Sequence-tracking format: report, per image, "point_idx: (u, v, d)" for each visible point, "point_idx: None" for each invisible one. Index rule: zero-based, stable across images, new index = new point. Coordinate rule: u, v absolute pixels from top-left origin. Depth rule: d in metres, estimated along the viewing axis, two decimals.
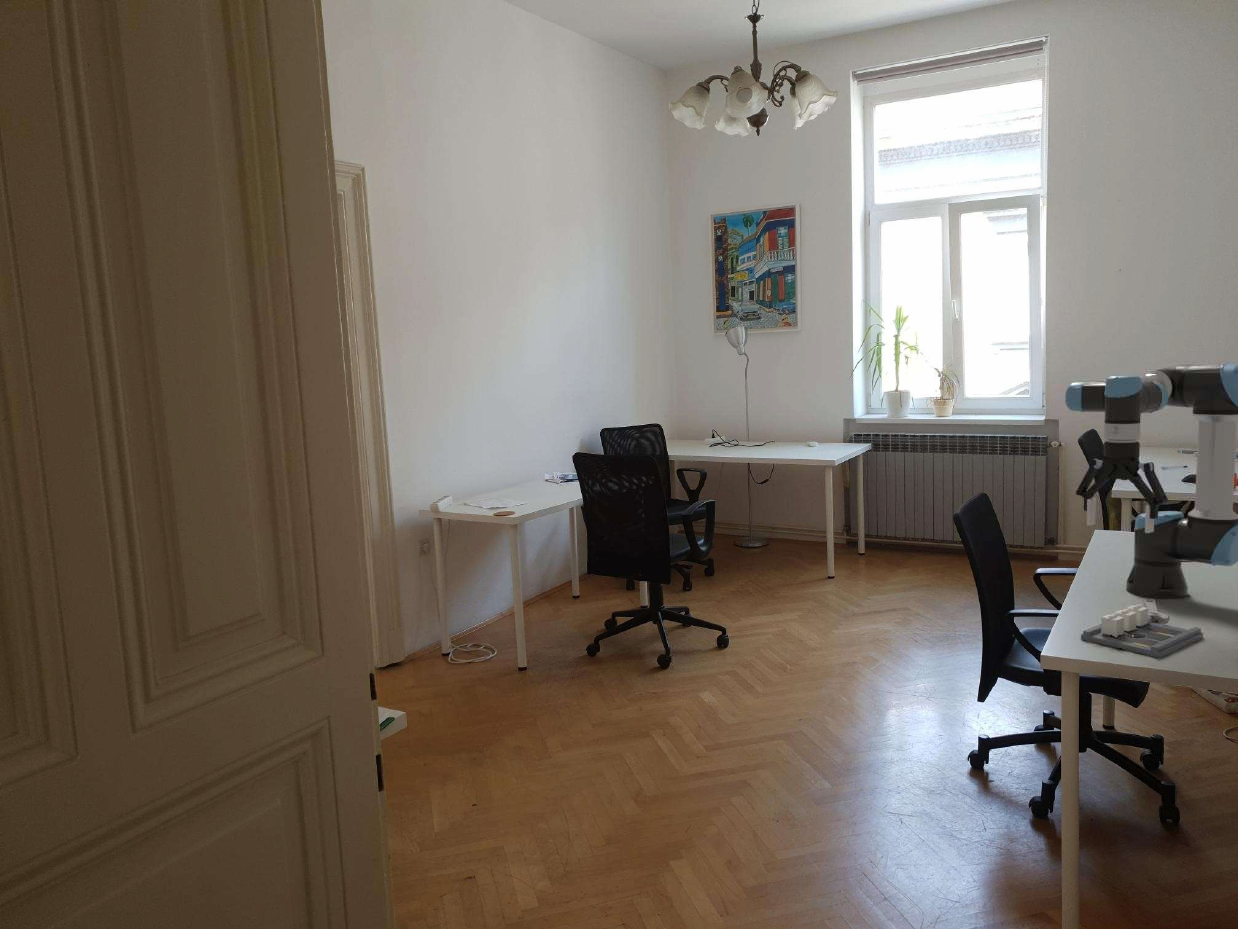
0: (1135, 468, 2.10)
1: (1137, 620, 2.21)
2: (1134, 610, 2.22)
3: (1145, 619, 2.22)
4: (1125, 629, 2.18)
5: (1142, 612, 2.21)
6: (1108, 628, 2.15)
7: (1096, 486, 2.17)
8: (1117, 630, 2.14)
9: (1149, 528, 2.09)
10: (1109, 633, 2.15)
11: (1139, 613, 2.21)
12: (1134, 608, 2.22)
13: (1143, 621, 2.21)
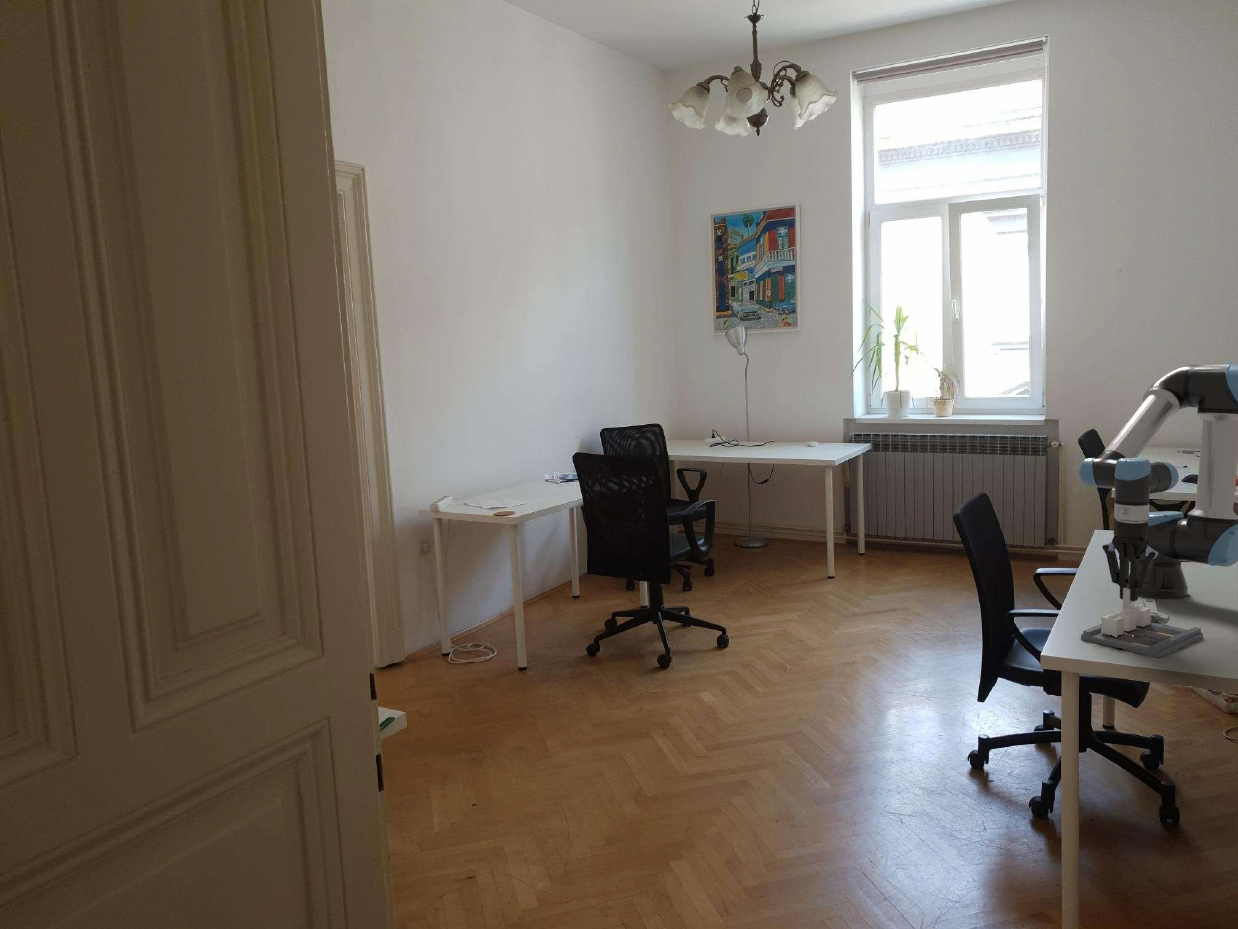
0: (1142, 549, 2.19)
1: (1139, 621, 2.21)
2: (1136, 610, 2.21)
3: (1147, 619, 2.21)
4: (1125, 629, 2.18)
5: (1144, 613, 2.20)
6: (1108, 628, 2.15)
7: (1123, 570, 2.23)
8: (1117, 630, 2.14)
9: None
10: (1109, 633, 2.15)
11: (1141, 613, 2.20)
12: (1136, 608, 2.21)
13: (1145, 621, 2.21)
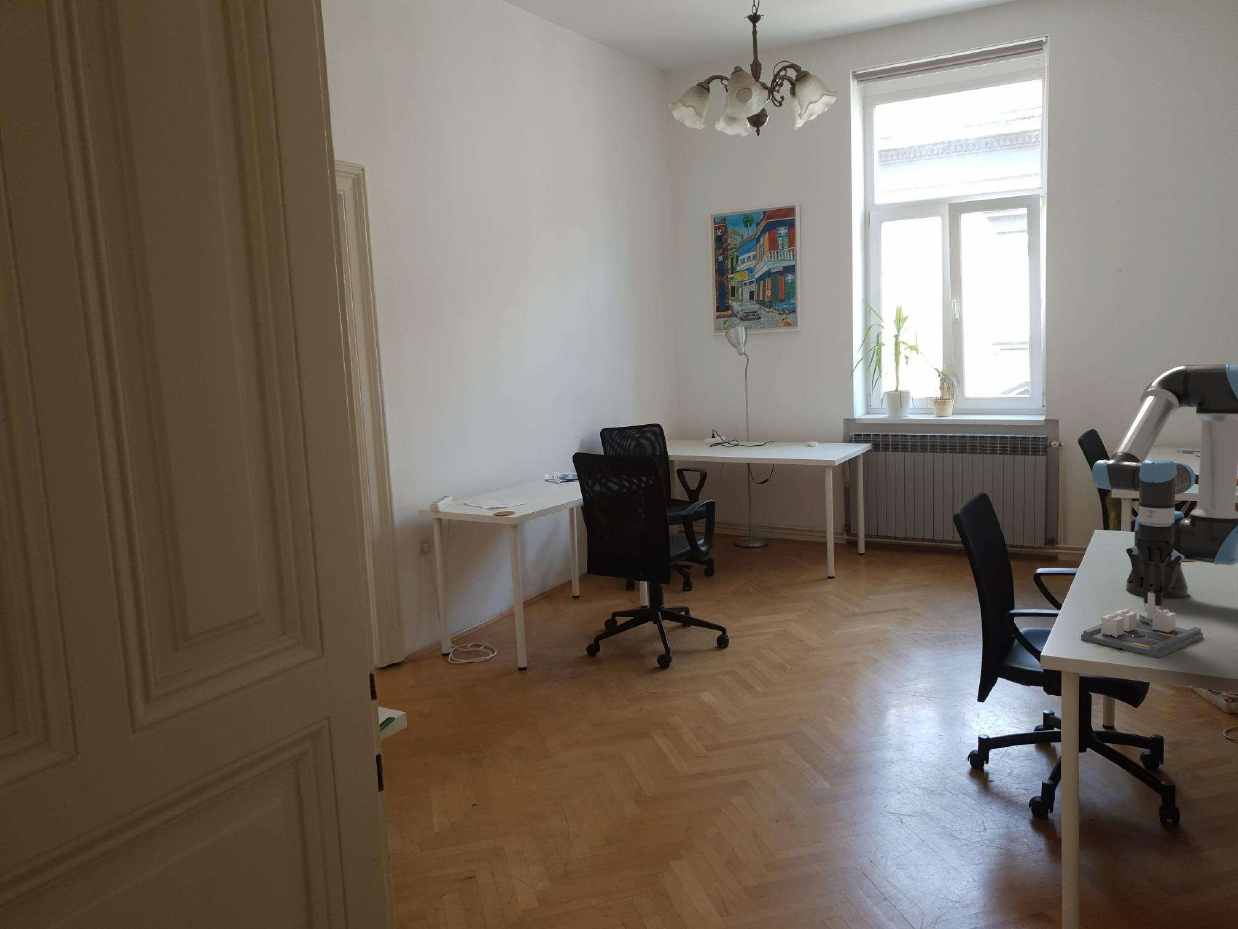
0: (1167, 552, 2.14)
1: (1164, 626, 2.16)
2: (1161, 615, 2.16)
3: (1172, 625, 2.17)
4: (1125, 629, 2.18)
5: (1170, 618, 2.15)
6: (1108, 628, 2.15)
7: (1147, 574, 2.19)
8: (1117, 630, 2.14)
9: None
10: (1109, 633, 2.15)
11: (1167, 618, 2.15)
12: (1161, 613, 2.16)
13: (1170, 626, 2.16)
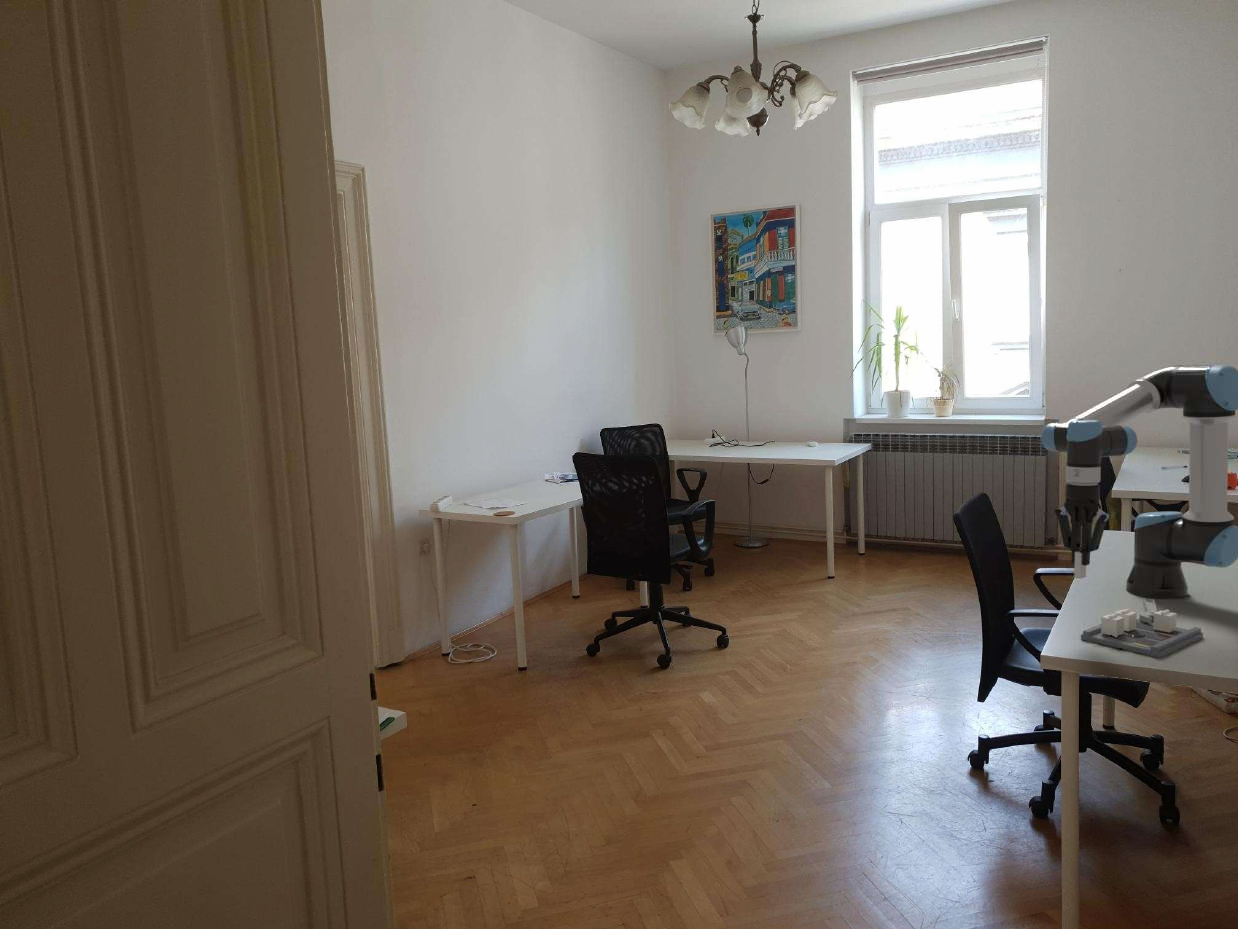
0: (1093, 511, 2.16)
1: (1165, 626, 2.16)
2: (1162, 616, 2.16)
3: (1173, 625, 2.16)
4: (1125, 629, 2.18)
5: (1171, 618, 2.15)
6: (1108, 628, 2.15)
7: (1074, 534, 2.20)
8: (1117, 630, 2.14)
9: (1081, 574, 2.20)
10: (1109, 633, 2.15)
11: (1168, 619, 2.15)
12: (1162, 614, 2.16)
13: (1171, 627, 2.16)
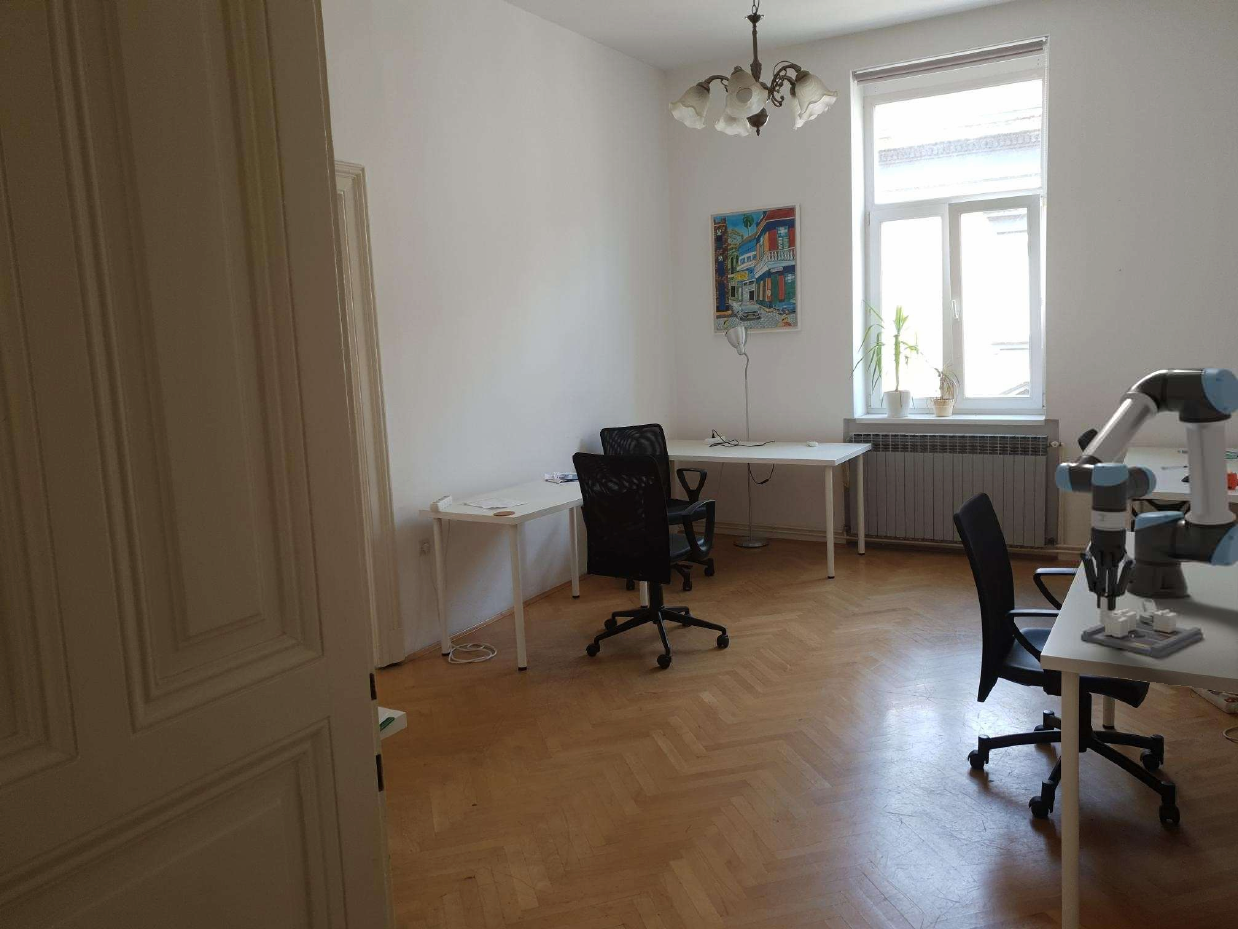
0: (1119, 557, 2.12)
1: (1165, 626, 2.16)
2: (1162, 616, 2.16)
3: (1173, 625, 2.16)
4: None
5: (1171, 618, 2.15)
6: (1112, 629, 2.14)
7: (1100, 578, 2.16)
8: (1121, 631, 2.13)
9: None
10: (1113, 634, 2.14)
11: (1168, 619, 2.15)
12: (1162, 614, 2.16)
13: (1171, 627, 2.16)
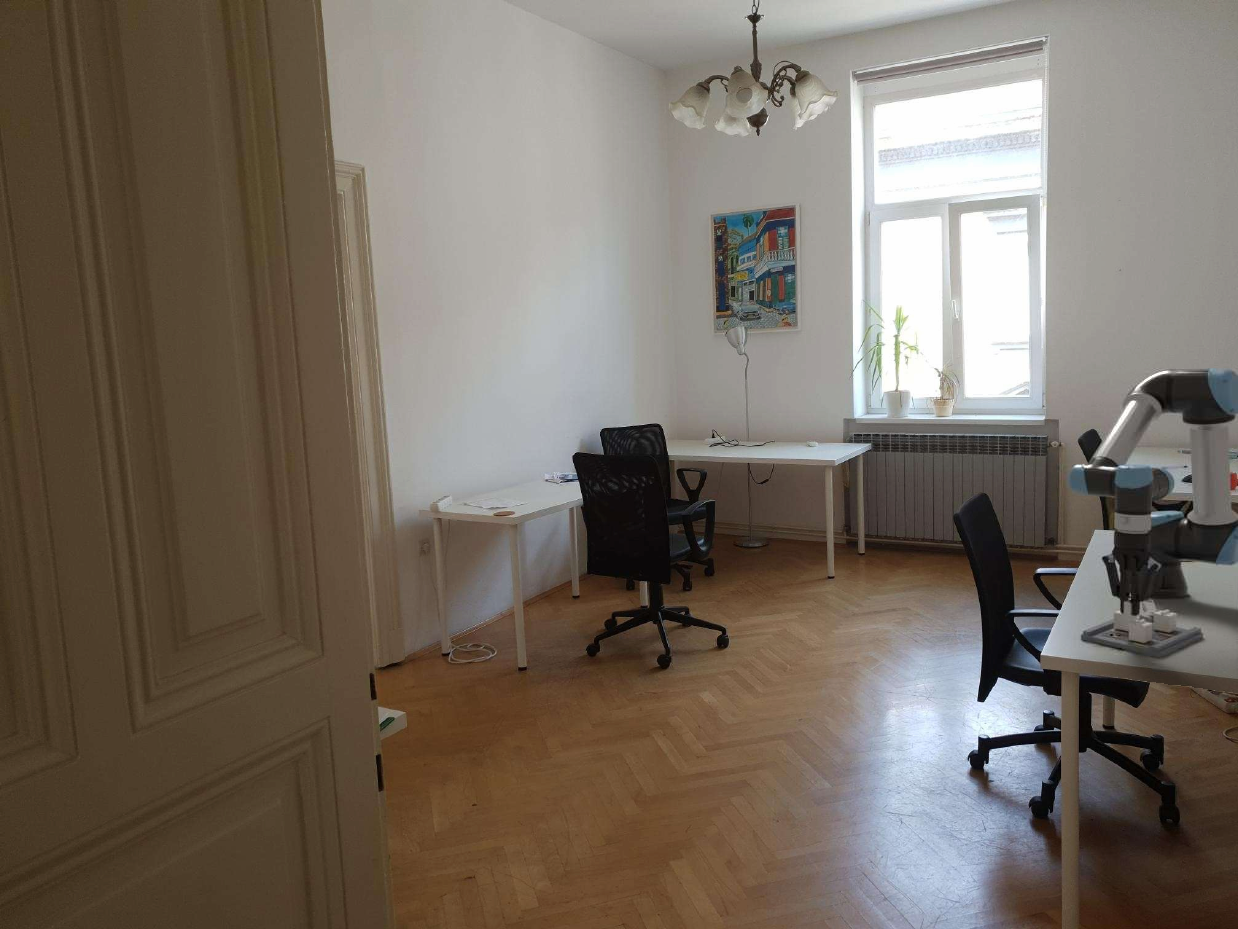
0: (1143, 560, 2.08)
1: (1165, 626, 2.16)
2: (1162, 616, 2.16)
3: (1173, 625, 2.16)
4: (1125, 629, 2.18)
5: (1171, 618, 2.15)
6: (1136, 634, 2.10)
7: (1123, 583, 2.12)
8: (1146, 636, 2.09)
9: None
10: (1137, 639, 2.10)
11: (1168, 619, 2.15)
12: (1162, 614, 2.16)
13: (1171, 627, 2.16)
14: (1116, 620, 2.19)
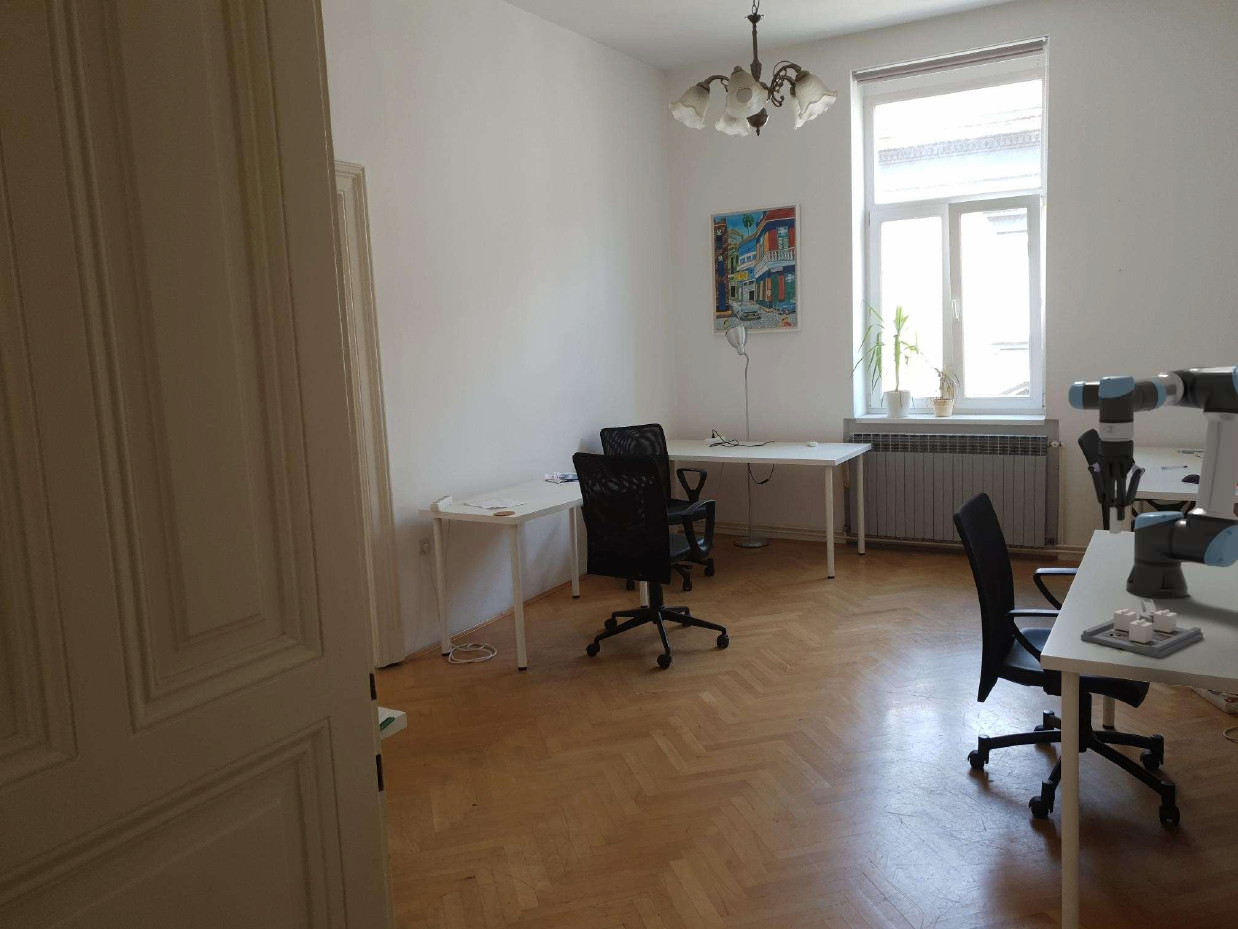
0: (1127, 467, 2.18)
1: (1165, 626, 2.16)
2: (1162, 616, 2.16)
3: (1173, 625, 2.16)
4: (1125, 629, 2.18)
5: (1171, 618, 2.15)
6: (1136, 634, 2.10)
7: (1109, 490, 2.22)
8: (1146, 636, 2.09)
9: (1117, 529, 2.22)
10: (1137, 639, 2.10)
11: (1168, 619, 2.15)
12: (1162, 614, 2.16)
13: (1171, 627, 2.16)
14: (1116, 620, 2.19)
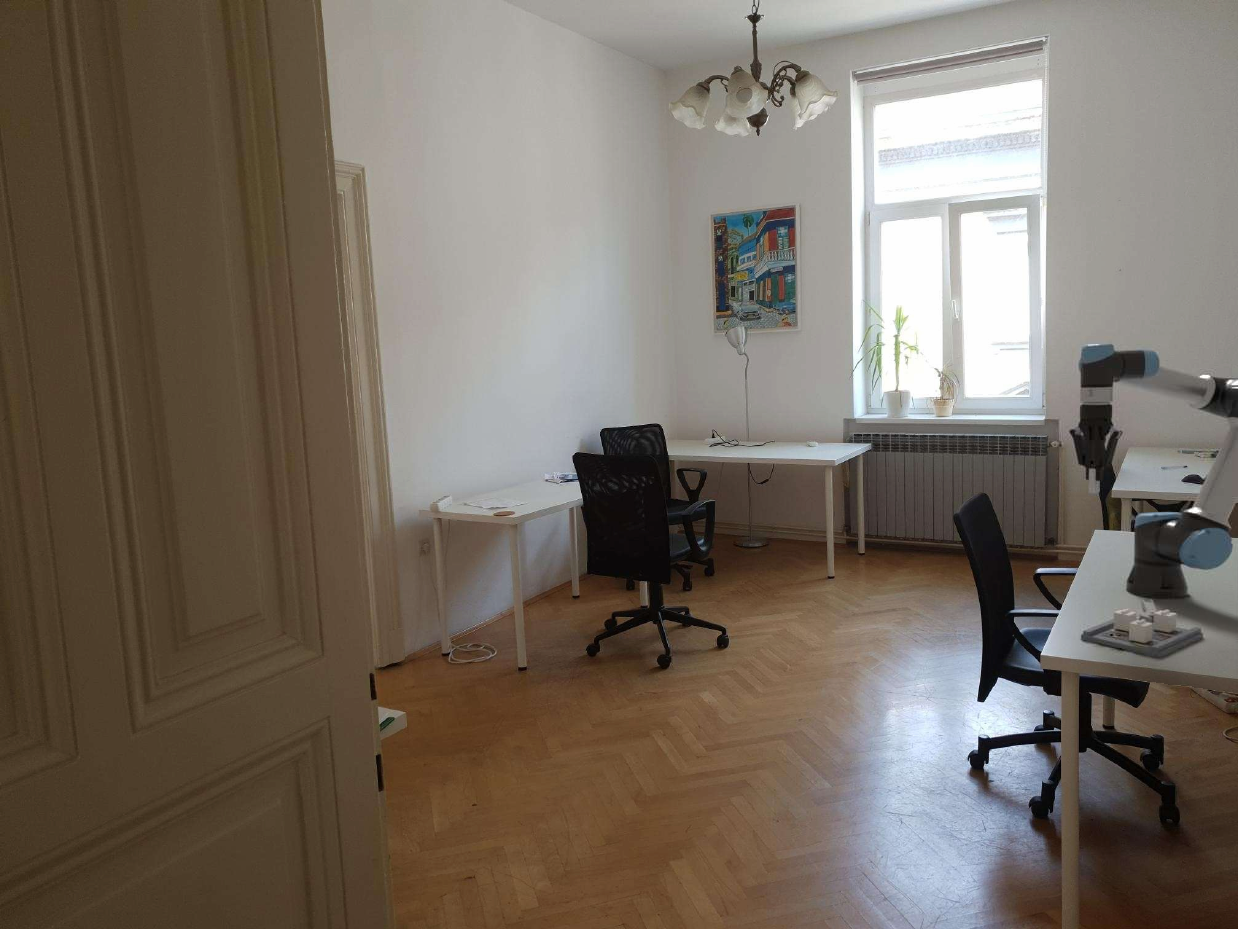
0: (1106, 429, 2.30)
1: (1165, 626, 2.16)
2: (1162, 616, 2.16)
3: (1173, 625, 2.16)
4: (1125, 629, 2.18)
5: (1171, 618, 2.15)
6: (1136, 634, 2.10)
7: (1088, 451, 2.35)
8: (1146, 636, 2.09)
9: (1095, 489, 2.35)
10: (1137, 639, 2.10)
11: (1168, 619, 2.15)
12: (1162, 614, 2.16)
13: (1171, 627, 2.16)
14: (1116, 620, 2.19)
